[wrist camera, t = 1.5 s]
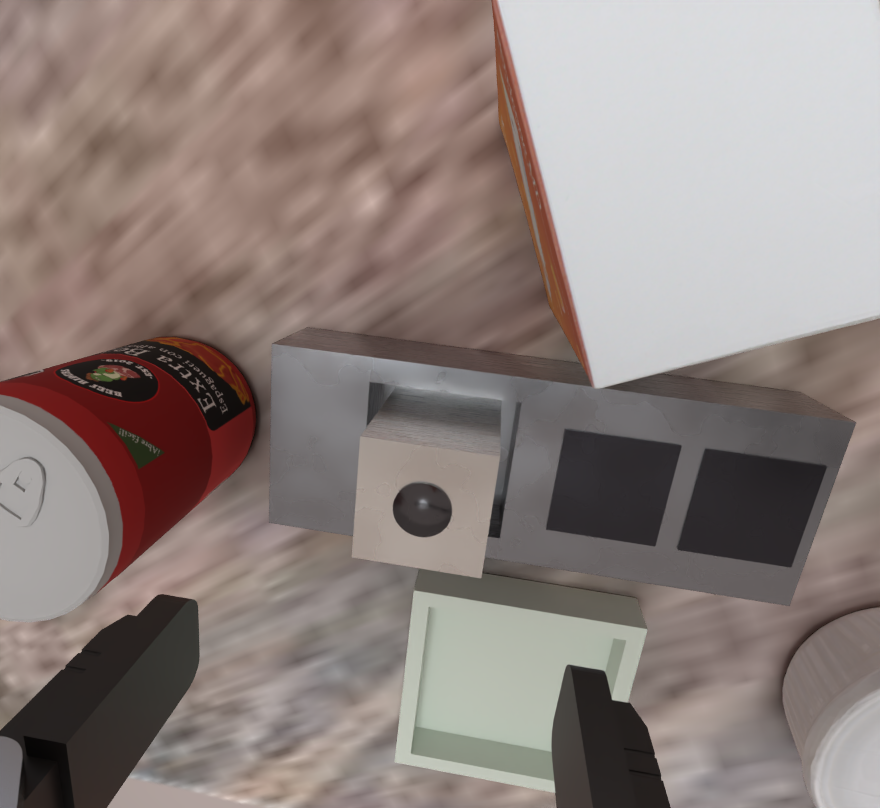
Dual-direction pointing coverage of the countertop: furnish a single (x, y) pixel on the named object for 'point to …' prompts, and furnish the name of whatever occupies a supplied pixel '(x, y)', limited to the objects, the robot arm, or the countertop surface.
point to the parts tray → (504, 670)
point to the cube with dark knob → (428, 481)
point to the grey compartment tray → (578, 461)
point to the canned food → (109, 464)
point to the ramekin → (838, 711)
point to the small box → (695, 171)
